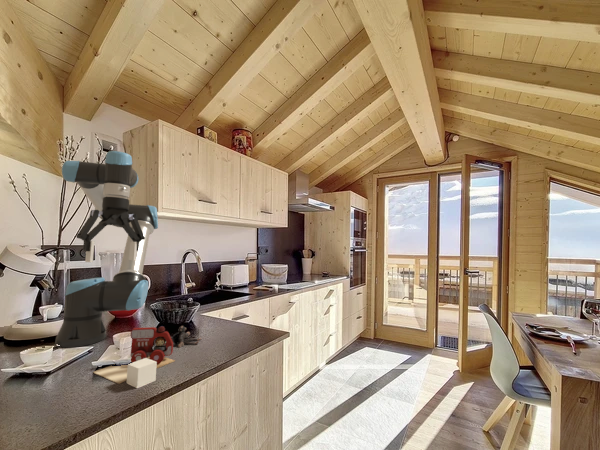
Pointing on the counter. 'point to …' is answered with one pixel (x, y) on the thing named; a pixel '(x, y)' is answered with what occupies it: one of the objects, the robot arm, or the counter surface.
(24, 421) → the counter surface
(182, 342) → the stuffed animal
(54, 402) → the counter surface
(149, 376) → the cream white cube
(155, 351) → the toy fire truck
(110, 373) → the board
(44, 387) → the counter surface
